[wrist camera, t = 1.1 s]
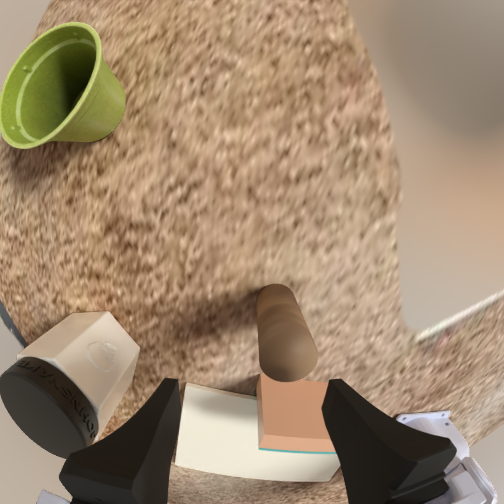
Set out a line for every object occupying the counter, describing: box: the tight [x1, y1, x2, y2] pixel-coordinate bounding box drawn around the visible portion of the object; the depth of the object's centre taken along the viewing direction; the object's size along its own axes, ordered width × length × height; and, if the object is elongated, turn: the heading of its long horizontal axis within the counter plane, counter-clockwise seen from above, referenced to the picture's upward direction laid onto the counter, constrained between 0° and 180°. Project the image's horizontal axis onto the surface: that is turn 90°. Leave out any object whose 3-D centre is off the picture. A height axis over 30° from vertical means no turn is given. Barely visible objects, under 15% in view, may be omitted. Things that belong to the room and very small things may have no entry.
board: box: [175, 382, 340, 482], centre depth 26 cm, size 20×14×1 cm
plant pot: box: [0, 22, 125, 149], centre depth 16 cm, size 9×9×9 cm
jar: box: [0, 311, 140, 459], centre depth 19 cm, size 9×8×12 cm
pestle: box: [256, 284, 318, 382], centre depth 19 cm, size 3×3×9 cm
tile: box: [257, 374, 336, 454], centre depth 21 cm, size 7×2×8 cm, turn 77°
